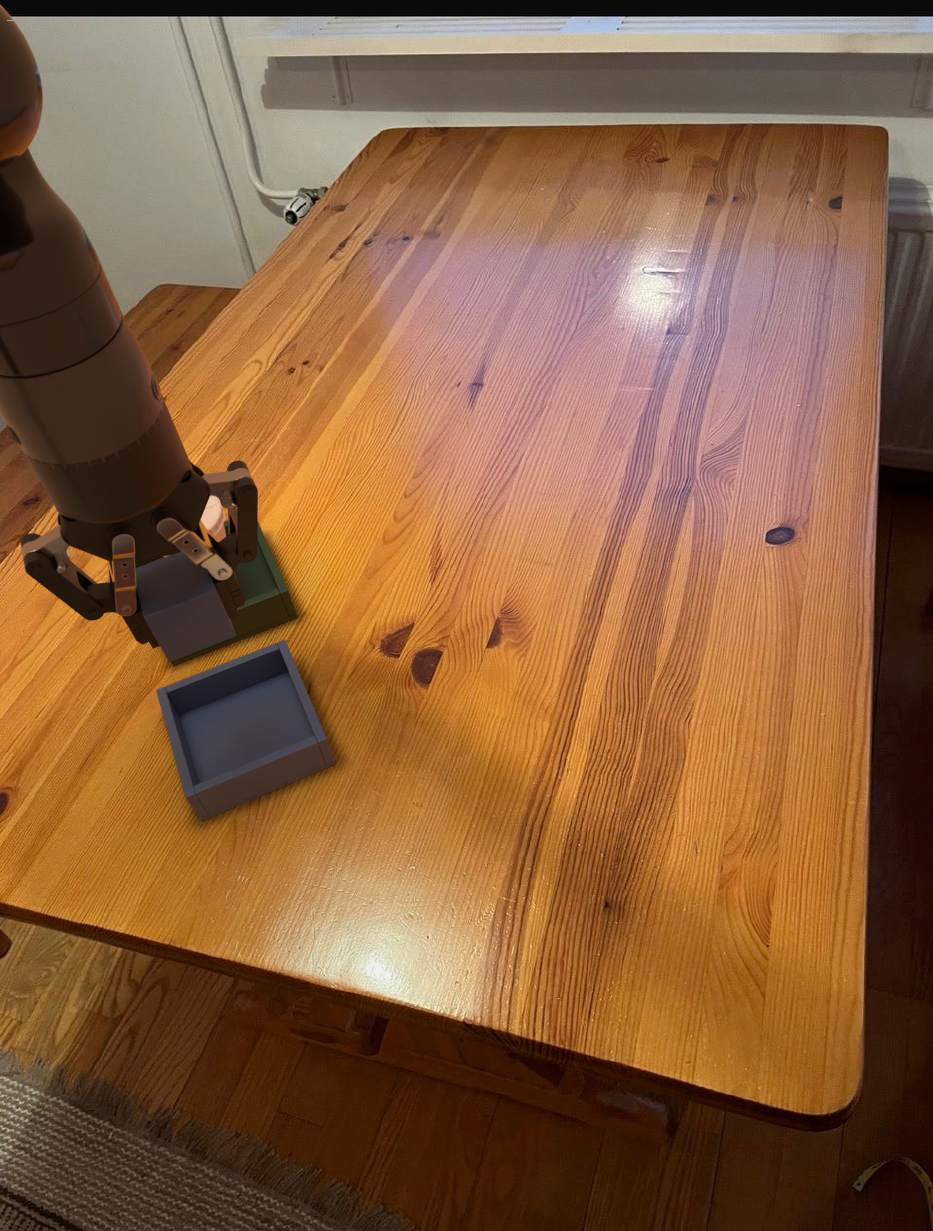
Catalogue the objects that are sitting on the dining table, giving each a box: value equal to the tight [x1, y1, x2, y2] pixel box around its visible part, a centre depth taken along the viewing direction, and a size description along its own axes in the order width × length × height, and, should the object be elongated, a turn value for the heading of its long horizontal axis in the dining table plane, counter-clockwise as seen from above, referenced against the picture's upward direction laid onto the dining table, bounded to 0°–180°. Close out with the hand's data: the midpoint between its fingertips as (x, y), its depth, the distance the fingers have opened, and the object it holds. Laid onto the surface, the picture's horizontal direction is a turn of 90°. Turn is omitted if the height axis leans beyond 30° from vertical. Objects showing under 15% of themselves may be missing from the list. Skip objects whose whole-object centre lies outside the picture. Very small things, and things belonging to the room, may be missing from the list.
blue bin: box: [155, 639, 337, 822], centre depth 70 cm, size 10×10×4 cm
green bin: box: [150, 519, 299, 667], centre depth 80 cm, size 11×11×4 cm
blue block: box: [136, 552, 236, 663], centre depth 59 cm, size 4×4×4 cm
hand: (193, 622), depth 61 cm, fingers closed on blue block, 4 cm apart
